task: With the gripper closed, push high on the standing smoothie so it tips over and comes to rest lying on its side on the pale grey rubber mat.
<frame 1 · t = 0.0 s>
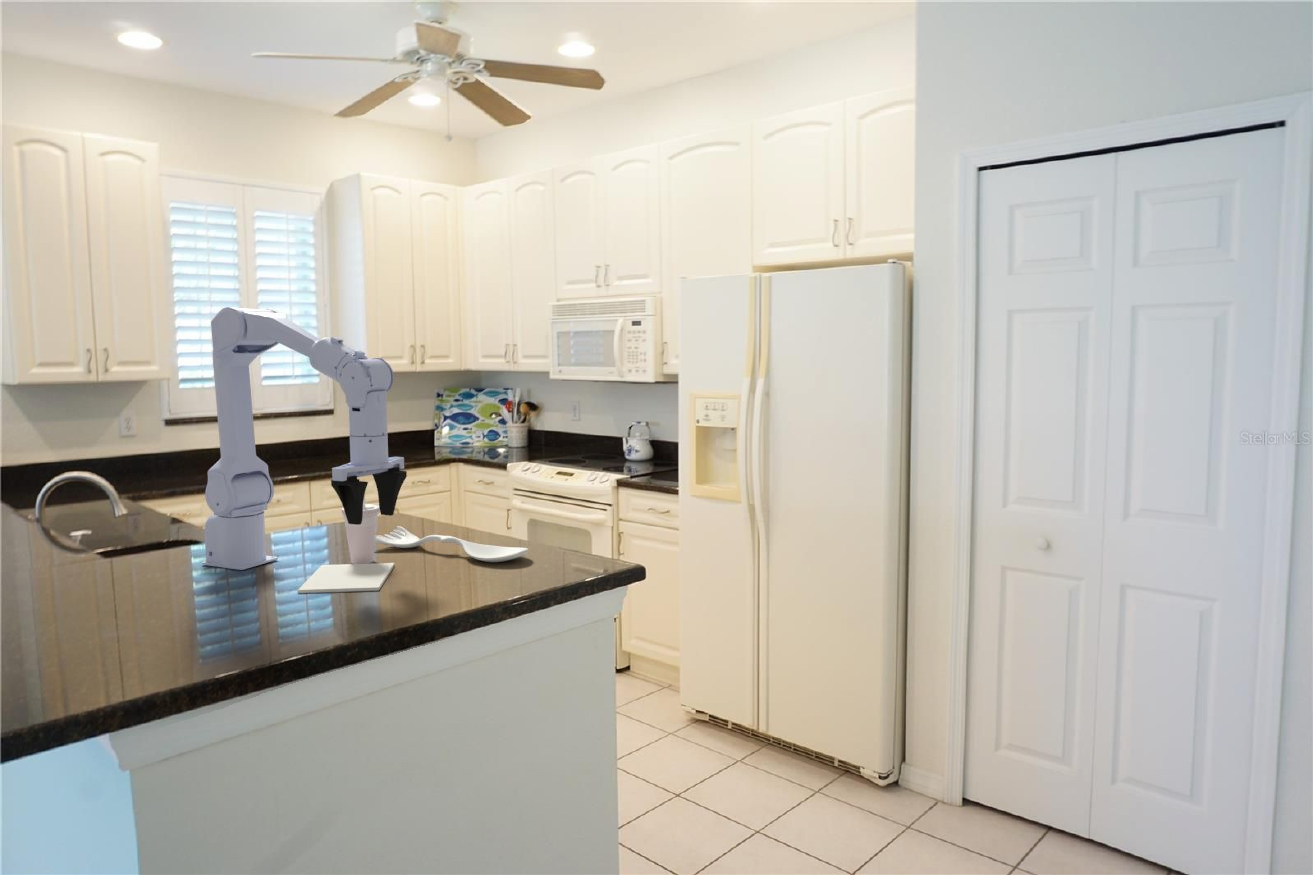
hand: (371, 519, 138), 10 cm above the worktop, tool pointing down, fingers open, 7 cm apart
white plastic utensil: (450, 556, 157), on the worktop
smoothie: (362, 562, 151), on the worktop
mat: (348, 578, 140), on the worktop
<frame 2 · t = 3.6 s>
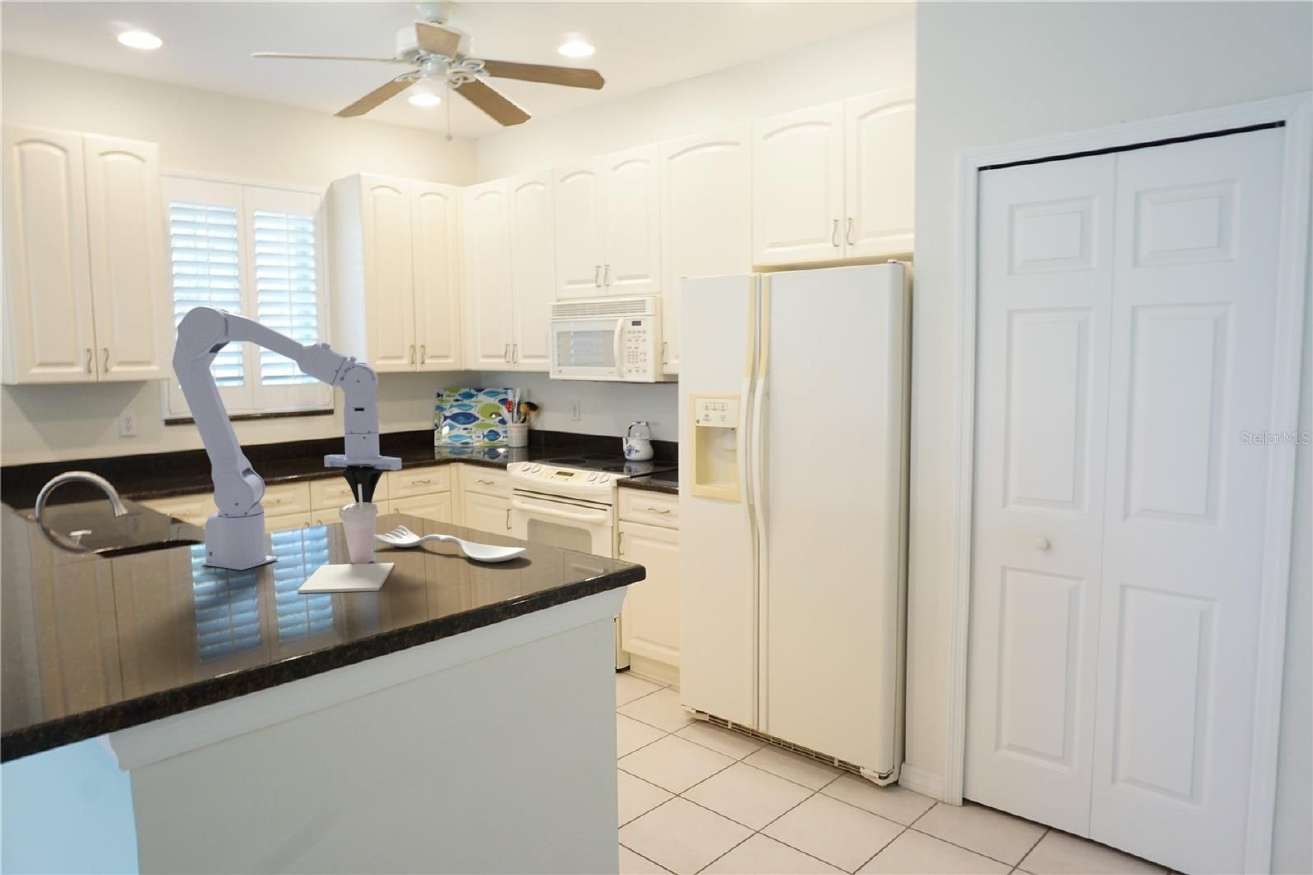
hand: (364, 508, 153), 9 cm above the worktop, tool pointing down, fingers closed
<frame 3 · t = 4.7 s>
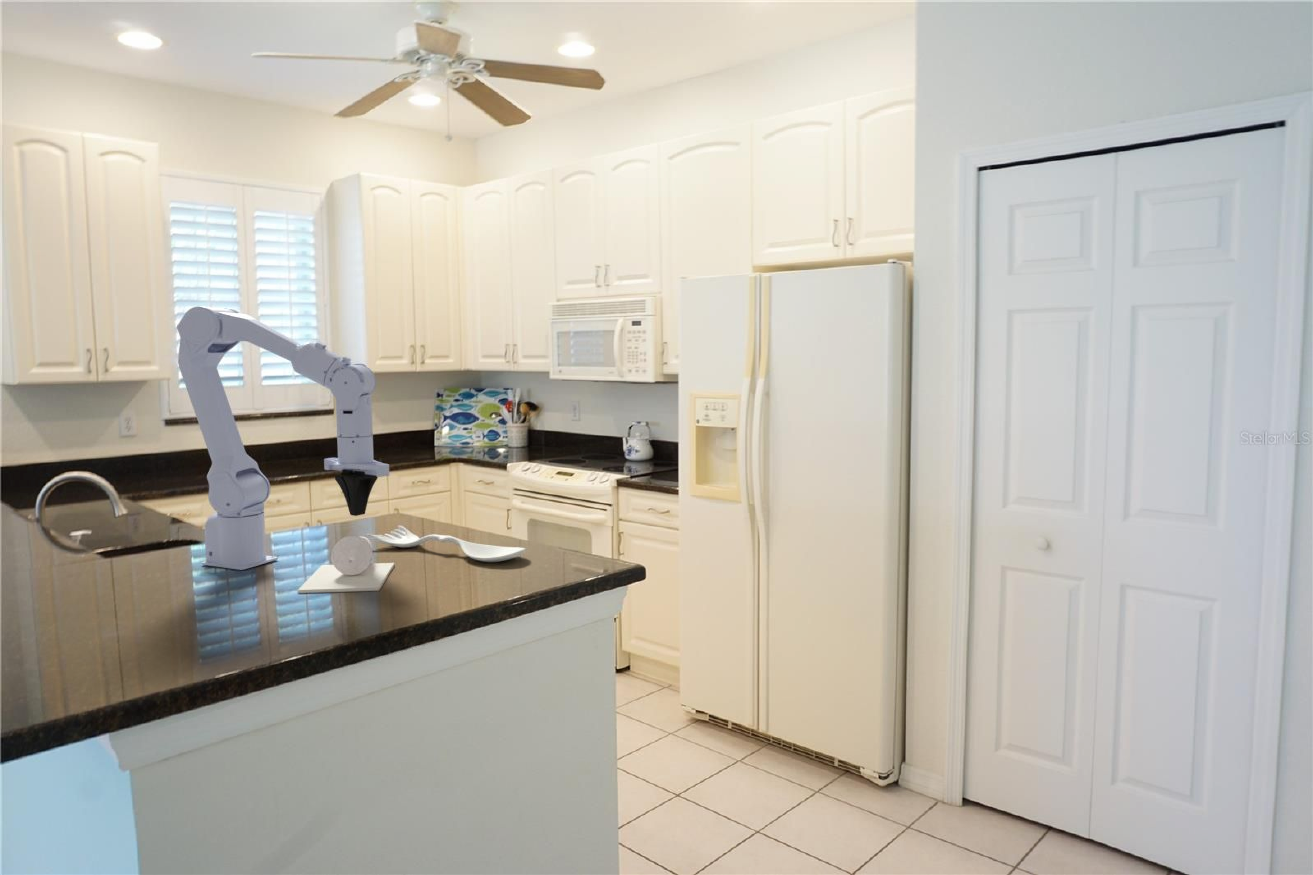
hand: (357, 514, 147), 9 cm above the worktop, tool pointing down, fingers closed
smoothie: (361, 546, 149), point 3 cm above the worktop, touching mat
everything else where it was.
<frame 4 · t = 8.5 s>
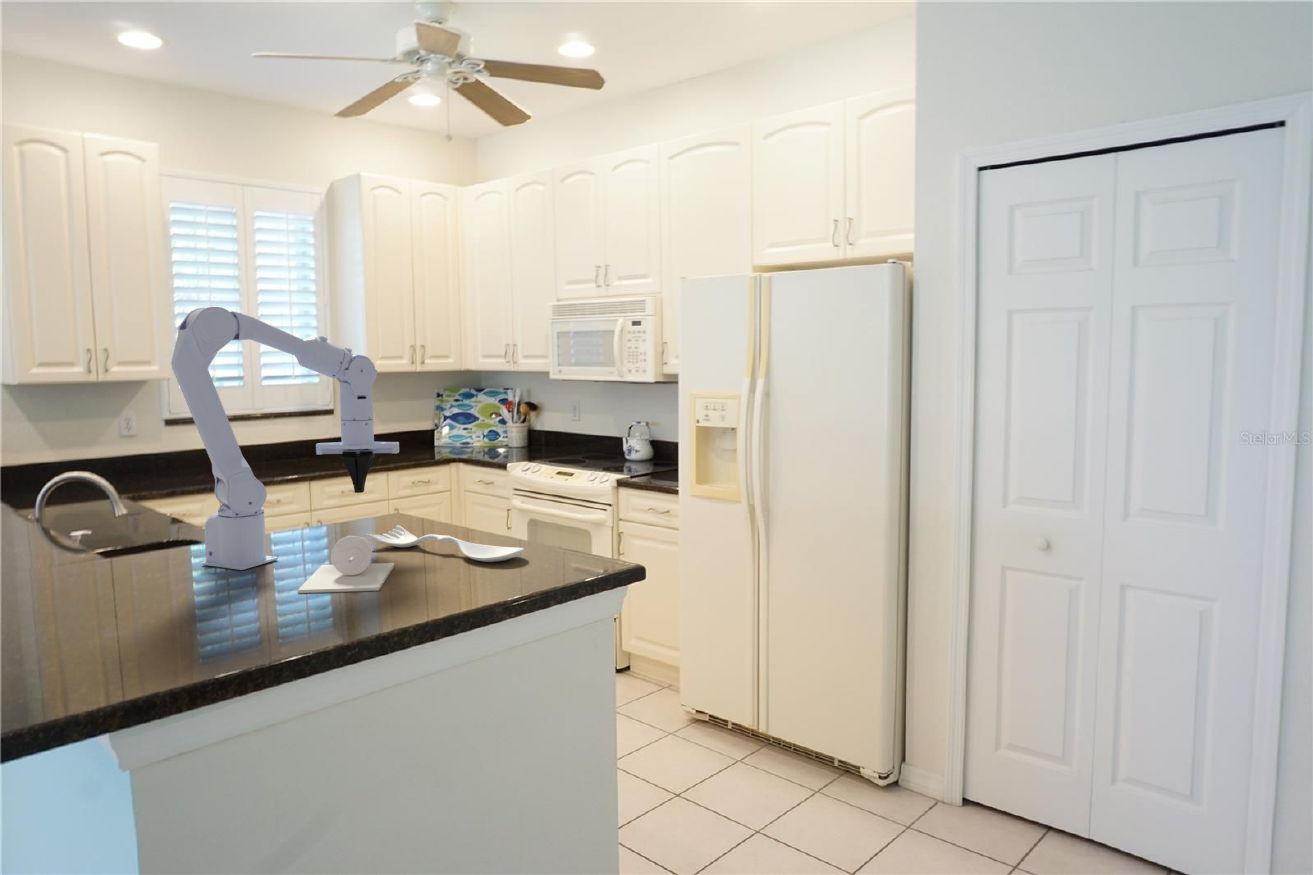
hand: (359, 491, 161), 10 cm above the worktop, tool pointing down, fingers closed
nothing on the worktop moved.
at the end: smoothie tilted 85°; smoothie touching mat; smoothie inside the target area (5.5 cm from its centre), point 3.0 cm above the worktop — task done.
